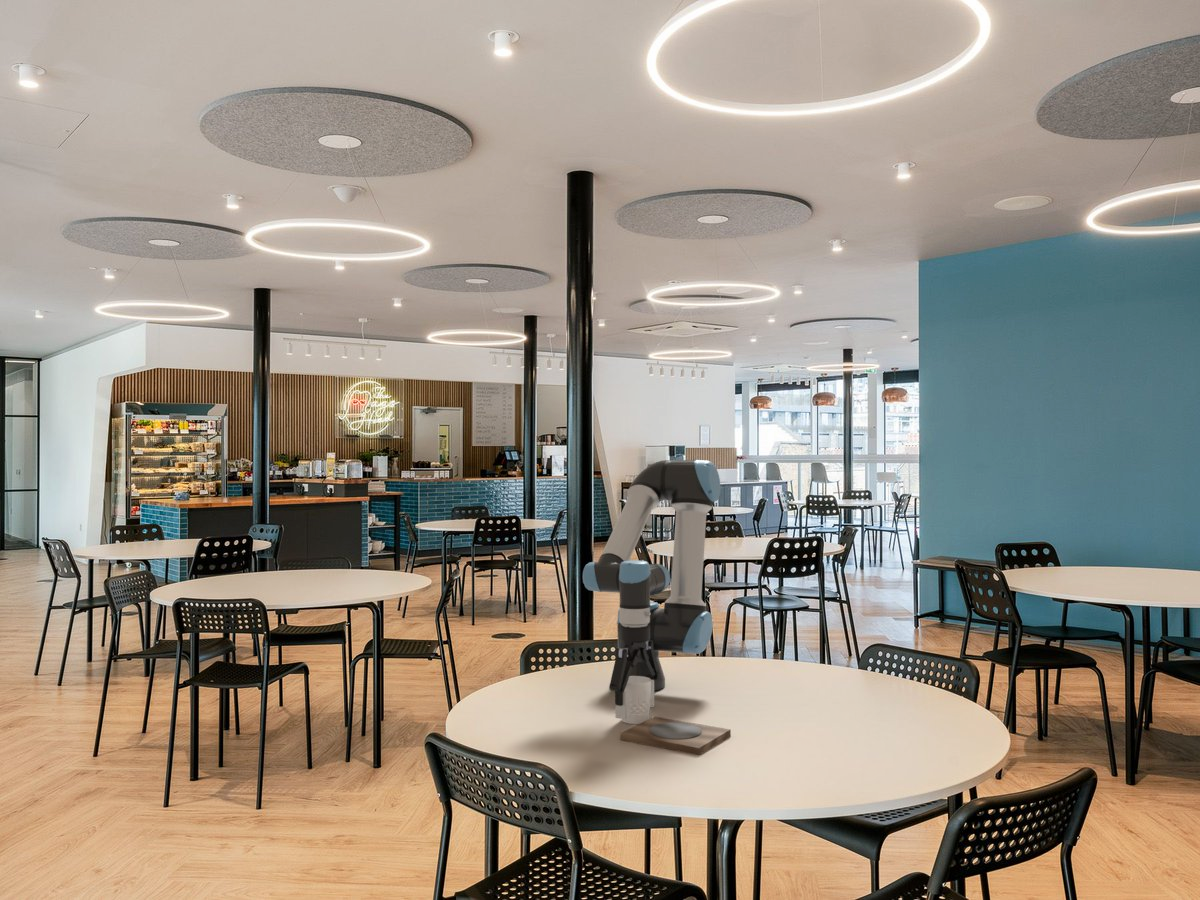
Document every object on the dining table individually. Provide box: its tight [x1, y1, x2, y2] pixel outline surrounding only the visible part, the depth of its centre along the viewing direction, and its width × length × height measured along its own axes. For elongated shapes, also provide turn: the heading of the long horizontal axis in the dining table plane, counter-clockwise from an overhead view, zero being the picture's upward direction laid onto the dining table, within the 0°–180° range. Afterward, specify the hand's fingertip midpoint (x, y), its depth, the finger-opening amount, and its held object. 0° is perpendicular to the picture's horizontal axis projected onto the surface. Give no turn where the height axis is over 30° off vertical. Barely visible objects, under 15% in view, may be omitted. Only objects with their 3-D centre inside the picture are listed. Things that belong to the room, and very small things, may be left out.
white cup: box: [621, 676, 651, 725], centre depth 219 cm, size 8×8×10 cm
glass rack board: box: [619, 716, 732, 756], centre depth 205 cm, size 16×20×2 cm
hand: (635, 712), depth 219 cm, fingers open, 12 cm apart
